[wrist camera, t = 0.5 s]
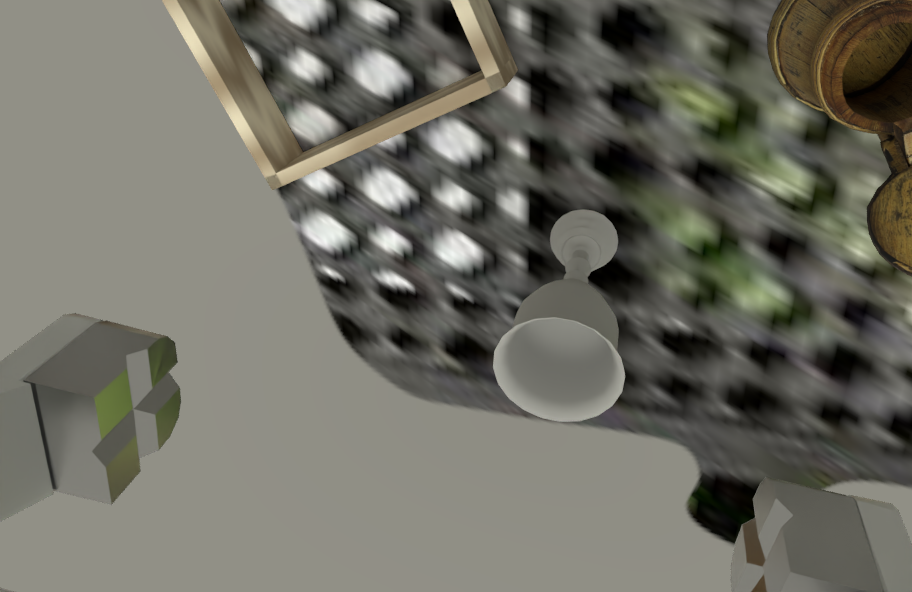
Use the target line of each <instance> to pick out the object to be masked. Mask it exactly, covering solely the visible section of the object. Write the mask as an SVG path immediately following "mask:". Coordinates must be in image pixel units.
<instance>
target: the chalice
mask: <svg viewBox="0 0 912 592" xmlns="http://www.w3.org/2000/svg"><path fill="white" fill-rule="evenodd" d="M550 243H551V248H552V251H553V252H554V254H555V256H556V258H557V259H558V260H559V261H560V262H561V263H562V264H563V265H564V266H565V270H566V274H565V276H564V279H562V280H557V281H554V282H551V283H548V284H546V285H544V286H542V287H541V288H539V289H538V290H536V291H535V292H533V293H532V294H531V295H530V296H529V297H527V298H526V299H525V300H524V301H523V303H522V304H521V306H520V308H519V310H518V312H517V315H516V318H515V321H514V324H513V327H512V329H511V330H510V331H509V332H508V333H506V334H505V335H504V336H503V337H502V339H501V340H500V342H499V344H498V346H497V348H496V350H495V352H494V363H493V369H494V372H495V375H496V378H497V382H498V384H499V385H500V387H501V388H502V390H503V391H504V392H505V394H506V395H507V396H508V398H509V399H510V400H512V401H513V402H514V403H516V404H517V405H518V406H519V407H521V408H522V409H523V410H525V411H527V412H530V413H532V414H534V415H536V416H538V417H541V418H545V419H550V420H555V421H559V422H566V421H582V420H585V419H588V418H592V417H595V416H598V415H600V414H601V413H602V412H604V411H605V410H607V409H608V408H610V407H611V406H613V404H614V403H615V401H616V400H617V398H618V397H619V395H620V394H621V393H622V389H623V384H624V379H625V373H624V368H623V364H622V359H621V357H620V356H619V354H618V353H617V345H618V332H619V329H618V325H617V320H616V316H615V315H614V313H613V312H612V310H611V309H610V307H609V306H608V304H607V303H606V301H605V300H604V298H603V297H602V295H601V294H600V293H599V292H597V291H596V290H595V289H594V288H593V287H591V286H590V285H588V278H587V277H588V276H589V275H590V273H591V271H594V270H596V269H598V268H600V267H602V266H604V265H605V264H607V263H608V262H609V261H610V260H611V259H612V258H613V256H614V254H615V252H616V251H617V245H618V237H617V231H616V229H615V228H614V226H613V224H612V222H610V221H609V220H608V219H607V218H606V217H605V216H604V215H602V214H600V213H598V212H595V211H591V210H585V209H582V210H575V211H571V212H569V213H567V214H565V215H563V216H562V217H561V218H560V219H559V220H558V221H557V222H556V223H555V225H554V227H553V228H552V230H551V236H550Z"/></svg>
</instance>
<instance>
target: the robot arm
mask: <svg viewBox="0 0 912 592" xmlns="http://www.w3.org/2000/svg"><path fill="white" fill-rule="evenodd" d="M177 362H178V361H177V354H176V347H175V343H174V341H172V340H171V339H170V338H169V337H168V336H164V335H160V334H156V333H152V332H148V331H145V330H141V329H137V328H133V327H129V326H125V325H121V324H118V323H114V322H110V321H103V320H101V319H96V318H93V317H89V316H85V315H81V314H76V313H73V314H65V315H63V316H62V317H60V318H59V319H57V320H56V321H55V322H53V323H52V324H50V325H49V326H48V327H46V328H45V329H44V330H42V331H41V332H40V333H38V334H37V335H36V336H34V337H33V338H31V339H30V340H29V341H27V342H26V343H25V344H23V345H22V346H21V347H19V348H18V349H17V350H15V351H14V352H12V353H11V354H10V355H8V356H7V357H6V358H4V359H3V360H2V361H0V522H1V521H3V520H5V519H7V518H9V517H11V516H12V515H14V514H16V513H18V512H20V511H22V510H24V509H26V508H28V507H30V506H32V505H34V504H36V503H38V502H39V501H41V500H43V499H45V498H47V497H49V496H51V495H53V493H54V492H53V491H56V492H61V493H65V494H70V495H73V496H77V497H82V498H86V499H90V500H95V501H98V502H102V503H107V504H113V502H114V501H115V500H116V499H117V498H118V497H119V495H120V494H121V493H122V492H123V491H124V490H125V489H126V488H127V486H128V485H129V484H130V483H131V482H132V481H133V480H134V478H135V477H136V476H137V475H138V474H139V473H140V458H141V457H143V456H146V455H148V454H151V453H153V452H155V451H158V450H159V449H160V448H161V447H162V446H163V445H164V443H165V442H166V441H167V440H168V438H169V437H170V436H171V433H172V431H173V429H174V427H175V424H176V422H177V420H178V418H179V411H180V404H181V396H180V388H179V386H178V384H177V383H176V382H175V380H174V379H173V377H172V376H171V375H170V373H169V372H170V370H171V369H172V368H173V367H174V366H175V365H176V363H177ZM753 503H754V510H755V517H756V518H754V519H752V520H750V521H748V522H746V523H745V524H743V525H742V527H741V530H740V532H739V535H738V538H737V540H736V543H735V547H734V552H733V557H732V563H731V591H732V592H912V544H911V541H910V538H909V536H908V533H907V531H906V529H905V526H904V524H903V520H902V518H901V515H900V513H899V510H898V509H897V508H896V507H895V506H894V505H892V504H891V503H885V502H881V501H876V500H871V499H867V498H862V497H857V496H853V495H848V496H846V495H842V494H838V493H834V492H829V491H825V490H821V489H816V488H812V487H808V486H803V485H799V484H794V483H790V482H786V481H781V480H777V479H773V478H768V477H765V479H764V480H763V481H762V482H761V484H760V485H759V487H758V489H757V492H756V494H755V496H754V498H753ZM0 592H14V591H10V590H7V589H4V588H0Z"/></svg>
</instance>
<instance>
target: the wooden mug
mask: <svg viewBox="0 0 912 592" xmlns="http://www.w3.org/2000/svg"><path fill="white" fill-rule="evenodd" d="M767 39H768V54H769V58H770V61H771V65H772V68H773V71H774V73H775V75H776V77H777V78H778V80H779V82H780V84H781V85H782V86H783V87H784V88H785V89H786V90H787V91H788V92H789V93H790V94H791V95H792V96H793V97H794V98H796V99H798V100H799V101H801V102H803V103H805V104H807V105H808V106H810V107H812V108H814V109H817V110H820V111H824V112H825V113H826V114H827V115H828V116H829V117H830V118H831V119H833V120H835V121H837V122H839V123H841V124H843V125H845V126H846V127H848V128H850V129H854V130H858V131H862V132H867V133H872V134H877V135H878V136H879V138H880V140H881V142H880V143H881V148H882V151H883V153H884V155H885V157H886V160H887V163H888V165H889V168H890V170H891V173H892V174H891V175H890V176H889V178H888V179H887V180H886V181H885V182H884V183H883V184H882V185H881V186H880V187H879V188H878V189H877V191H876V192H875V194H874V196H873V198H872V199H871V201H870V203H869V205H868V206H867V224H868V230H869V235H870V237H871V240H872V242H873V244H874V246H875V247H876V249H877V251H878V252H879V254H880V255H881V256H882V257H883V258H884V259H885V260H886V261H887V262H888V263H889V264H891V265H892V266H893V267H895V268H897V269H898V270H900V271H902V272H904V273H905V274H907V275H910V276H912V0H782V1H781V3H780V5H779V7H778V8H777V10H776V12H775V14H774V15H773V18H772V21H771V24H770V28H769V31H768V34H767Z"/></svg>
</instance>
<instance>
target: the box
mask: <svg viewBox="0 0 912 592" xmlns="http://www.w3.org/2000/svg"><path fill="white" fill-rule="evenodd" d="M162 1H163V3H164V4H165V6H166V8H167V10H168V11H169V13H170V15H171V17H172V18H173V20H174V22H175V24H176V25H177V27H178V29H179V30H180V32H181V34H182V36H183V37H184V39H185V41H186V42H187V44H188V46H189V47H190V49H191V51H192V53H193V55H194V56H195V58H196V60H197V61H198V63H199V65H200V67H201V68H202V70H203V72H204V73H205V75H206V77H207V78H208V80H209V82H210V84H211V86H212V87H213V89H214V91H215V92H216V94H217V96H218V98H219V99H220V101H221V103H222V105H223V106H224V108H225V110H226V111H227V113H228V115H229V117H230V118H231V120H232V122H233V124H234V125H235V127H236V129H237V130H238V132H239V134H240V135H241V137H242V139H243V141H244V142H245V144H246V146H247V148H248V149H249V151H250V153H251V154H252V156H253V158H254V160H255V161H256V163H257V165H258V166H259V168H260V170H261V172H262V173H263V175H264V177H265V179H266V180H267V182H268V183H269V186H270V187H271V189H272V190H274V189H276V188H279V187H281V186H283V185H285V184H288V183H290V182H292V181H294V180H297V179H299V178H301V177H303V176H306V175H308V174H310V173H312V172H315V171H317V170H319V169H321V168H324V167H326V166H328V165H330V164H333V163H335V162H337V161H339V160H342V159H344V158H346V157H348V156H351V155H353V154H355V153H357V152H360V151H362V150H364V149H366V148H369V147H371V146H373V145H375V144H378V143H380V142H382V141H384V140H387V139H389V138H391V137H393V136H396V135H398V134H400V133H402V132H405V131H407V130H409V129H411V128H414V127H416V126H418V125H420V124H423V123H425V122H427V121H429V120H432V119H434V118H436V117H438V116H441V115H443V114H445V113H447V112H450V111H452V110H454V109H456V108H459V107H461V106H463V105H466V104H468V103H470V102H472V101H475V100H477V99H479V98H481V97H484V96H486V95H488V94H490V93H493V92H495V91H497V90H499V89H502V88H504V87H506V86H507V84H508V83H509V82H510V80H511V79H512V78H513V76H514V75H515V74H516V72H517V71H518V69H517V66H516V64H515V62H514V59H513V57H512V55H511V52H510V50H509V48H508V46H507V43H506V41H505V39H504V36H503V34H502V32H501V29H500V27H499V25H498V22H497V20H496V18H495V15H494V13H493V11H492V8H491V6H490V4H489V1H488V0H451V2H452V5H453V7H454V9H455V11H456V14H457V16H458V18H459V20H460V22H461V25H462V27H463V29H464V31H465V34H466V36H467V38H468V40H469V43H470V45H471V47H472V49H473V52H474V54H475V56H476V58H477V60H478V63H479V65H480V67H481V69H482V70H481V71H479V72H477V73H475V74H473V75H471V76H468V77H466V78H464V79H462V80H460V81H458V82H455V83H453V84H451V85H449V86H447V87H444V88H442V89H440V90H438V91H436V92H434V93H431V94H429V95H427V96H425V97H423V98H420V99H418V100H416V101H414V102H412V103H410V104H407V105H405V106H403V107H401V108H399V109H397V110H394V111H392V112H390V113H388V114H386V115H383V116H381V117H379V118H377V119H375V120H373V121H370V122H368V123H366V124H364V125H362V126H360V127H357V128H355V129H353V130H351V131H349V132H346V133H344V134H342V135H340V136H338V137H336V138H333V139H331V140H329V141H327V142H325V143H323V144H320V145H318V146H316V147H314V148H312V149H309V150H307V151H305V152H303V151H302V149H301V147H300V146H299V144H298V142H297V140H296V138H295V137H294V135H293V133H292V131H291V129H290V128H289V126H288V124H287V122H286V120H285V119H284V117H283V115H282V113H281V111H280V109H279V108H278V106H277V104H276V102H275V100H274V99H273V97H272V95H271V93H270V91H269V90H268V88H267V86H266V84H265V82H264V81H263V79H262V77H261V75H260V73H259V72H258V70H257V68H256V66H255V64H254V63H253V61H252V59H251V57H250V55H249V54H248V52H247V50H246V48H245V46H244V44H243V43H242V41H241V39H240V37H239V35H238V34H237V32H236V30H235V28H234V26H233V25H232V23H231V21H230V19H229V17H228V16H227V14H226V12H225V10H224V8H223V7H222V5H221V3H220V1H219V0H162Z"/></svg>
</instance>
